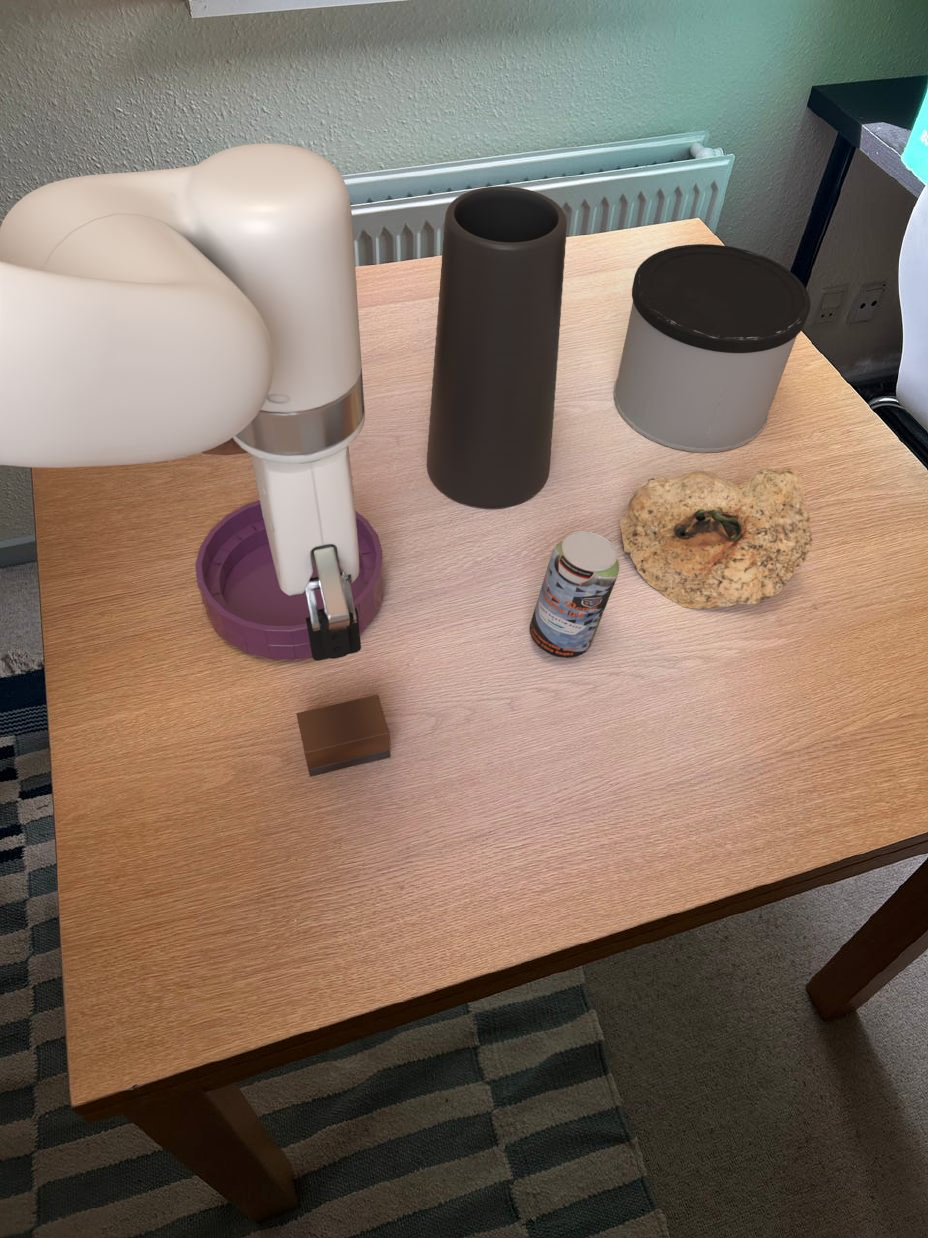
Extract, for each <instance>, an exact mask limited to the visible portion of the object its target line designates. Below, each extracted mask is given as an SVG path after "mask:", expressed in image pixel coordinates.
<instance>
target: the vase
mask: <svg viewBox="0 0 928 1238" xmlns="http://www.w3.org/2000/svg"><path fill="white" fill-rule="evenodd" d="M567 228H568V219H567V216H566V213H565V211H564V209H563V208H562V207H561V206H560V204H558V203H557V202H556V201H554V200H553V199H552V198H550V197H548V196H546V195H544V194H543V193H540V192H537V191H534V190H531V189H527V188H523V187H517V186H507V185H501V186H500V185H499V186H485V187H480V188H475V189H472V190H470V191H468V192H467V191H466V192H464V193H462V194H460V195H459V196H457V197H456V198H454V199H453V200H452V201H451V202H450V204H449V205H448V206H447V208H446V211H445V216H444V227H443V239H442V253H441V265H440V279H439V291H438V305H437V316H436V329H435V330H436V331H435V333H436V334H435V345H434V357H433V370H432V379H431V380H432V381H431V382H432V386H431V397H430V406H429V407H430V409H429V422H428V423H429V425H428V434H427V452H426V470H427V475H428V477H429V479H430V481H431V482H432V484H433V485H434V487H435V488H436V489H437V490H438V491H439V492H441V494H443V496H446V497H447V498H449V499H450V500H452V501H455V502H456V503H459V504H461V505H464V506H468V507H472V508H476V509H485V510H486V509H487V510H490V509H491V510H498V509H506V508H510V507H514V506H517V505H521V504H523V503H525V502H527V501H529V500H531V499H532V498H534V497H535V496H536V495H538V494H539V493H540V491H541V490H542V489H543V488H544V487H545V485H546V483H547V481H548V478H549V476H550V468H551V456H552V443H553V441H552V440H553V430H554V419H555V418H554V417H555V401H556V391H557V390H556V389H557V386H556V385H557V373H558V372H557V371H558V359H559V348H560V347H559V346H560V345H559V344H560V330H561V317H562V303H563V292H564V291H563V288H564V272H565V258H566V244H567Z"/></svg>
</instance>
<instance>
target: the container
mask: <svg viewBox="0 0 928 1238" xmlns="http://www.w3.org/2000/svg"><path fill="white" fill-rule="evenodd" d="M631 299H632V304H631V307H630V308H631V309H630V314H629V318H628V324H627V329H626V333H625V339H624V344H623V348H622V353H621V357H620V358H621V359H620V363H619V367H618V368H619V369H618V374H617V377H616V380H615V383H614V386H613V400H614V406H615V407H616V410H617V411H618V413H619V415H620V416H621V418H622V419H623V420H624V421H625V422H626V423H627V424H628V425H629V426H630V427H631V428H632V429H633V430H634V431H636V432H637V433H639V434H640V435H642V436H643V437H645V438H647V439H649V440H650V441H653V442H655V443H658V444H659V445H662V446H664V447H668V448H670V449H671V448H672V449H675V450H678V451H679V450H680V451H685V452H692V453H718V452H719V453H720V452H726V451H730V450H735V449H737V448H740V447H742V446H745V445H747V444H748V443H751V442H752V441H753V440H755V439H756V438H757V437H758V436H759V435H760V434H761V433H762V432H763V430H764V428H765V427H766V425H767V422H768V420H769V415H770V410H771V407H772V405H773V402H774V399H775V396H776V393H777V391H778V388H779V386H780V383H781V380H782V377H783V374H784V372H785V370H786V367H787V364H788V361H789V358H790V355H791V353H792V351H793V348H794V345H795V342H796V339H797V337H798V335H799V334H800V333H801V332H802V330H803V329H804V327H805V325H806V322H807V320H808V317H809V315H810V312H811V298H810V294H809V292H808V290H807V288H806V286H805V285H804V284H803V283H802V281H801V280H800V279H799V278H798V276H796V275H795V274H794V273H793V272H792V271H790V270H789V269H788V268H786V267H785V266H783V265H782V264H780V263H778V262H776V261H775V260H773V259H770V258H769V257H767V256H764V255H761V254H759V253H757V252H754V251H750V250H746V249H743V248H740V247H739V248H738V247H735V246H729V245H723V244H722V245H721V244H711V243H710V244H709V243H695V244H684V245H683V244H682V245H677V246H673V247H669V248H665V249H663V250H660V251H657V252H656V253H653V254H652V255H650V256H649V257H647V258H646V259H645V260H644V261H642V263H641V264H640V265H639V266H638V267H637V269H636V272H635V273H634V277H633V282H632V286H631Z"/></svg>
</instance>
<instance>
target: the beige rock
mask: <svg viewBox="0 0 928 1238" xmlns="http://www.w3.org/2000/svg"><path fill="white" fill-rule="evenodd" d="M802 480H803V475H802V474H801V473H800V472H799V471H798V470H796V469H794V468H793V467H784V468H774V469H773V468H771V467H768V466H765V467H762V468H760V469H759V470H758V471H757V472H756V473H755V474H753V475H752V476H751V477H749V478H748V479H747V481H746V482H743V483H741V484H736V483H734V482H733V481H730V480H728V479H727V478H724V477H722V476H720V475H718V474H716V473H714V472H710V471H705V470H695V471H692V472H688V473H686V474H685V475H683V476H679V477H678V478H674V477H673V478H672V477H661V476H660V477H659V478H658V479H656V478H649V479H647V480H646V481H645V483H644V484H643V483H641V484H640V485H639V486H637V488H636V489H635V490H634V492H633V493H632V494H633V495H632V497H630V499H629V503H628V507H627V511H626V514H625V515H624V517H623V518H620V519H619V525H620V531H621V538H622V544H623V550H624V553H628V554H629V555H630V559H631V560H632V563H633V564H634V565H635V567H636V571H637V572H638V574H639V575H641V576H642V579H644V580H645V581H646V582H647V584H648V585H650V586H651V587H652V588H653V589H655V591H659V592H660V594H661V595H663V596H664V597H665V598H666V599H668V600H670V601H672V602H674V603H677V604H678V605H679V606H681V607H683V608H689V609H700V610H707V609H713V608H714V609H715V608H722V607H723V608H724V607H731V606H734V605H757V604H762V603H764V601H765V600H768V599H770V598H771V597H773V596H775V595H778V594H779V593H780V592H781V591H782V590H783V588H784V586H786V585H787V583H788V582H789V580H790V579H791V577H793V575H794V573H795V571H797V570H798V568H799V567H801V566H802V564H803V563H805V562H806V560H807V555H808V554H809V552H810V550H811V548H812V545H813V541H814V540H813V534H812V531H811V526H810V525H811V524H810V521H811V520H810V519H811V518H810V515H809V514H810V513H809V510H808V508H807V507H806V506H807V503H806V498H805V497H806V495H807V494H806V491H805V489H804V486H803V482H802Z"/></svg>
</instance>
